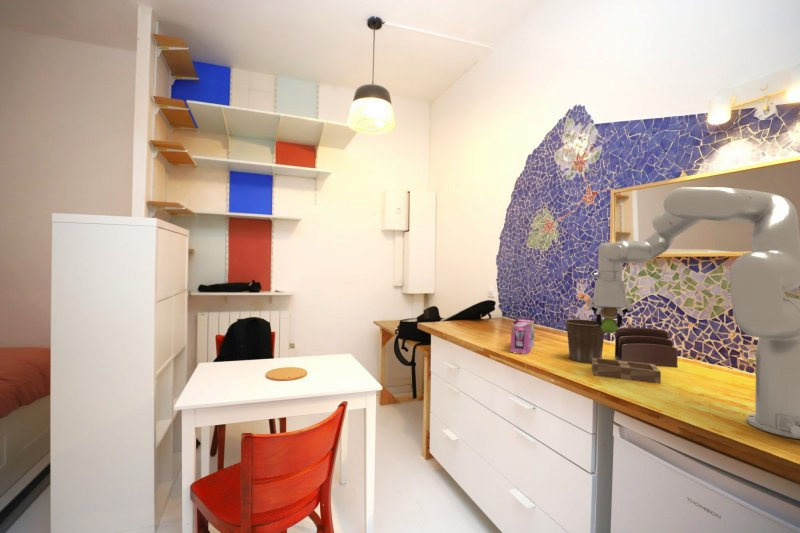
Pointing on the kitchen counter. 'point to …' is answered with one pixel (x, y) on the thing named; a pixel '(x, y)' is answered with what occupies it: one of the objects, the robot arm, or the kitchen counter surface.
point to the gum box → (522, 335)
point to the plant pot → (584, 340)
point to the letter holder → (645, 346)
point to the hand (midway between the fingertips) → (609, 325)
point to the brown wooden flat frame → (626, 370)
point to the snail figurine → (609, 320)
